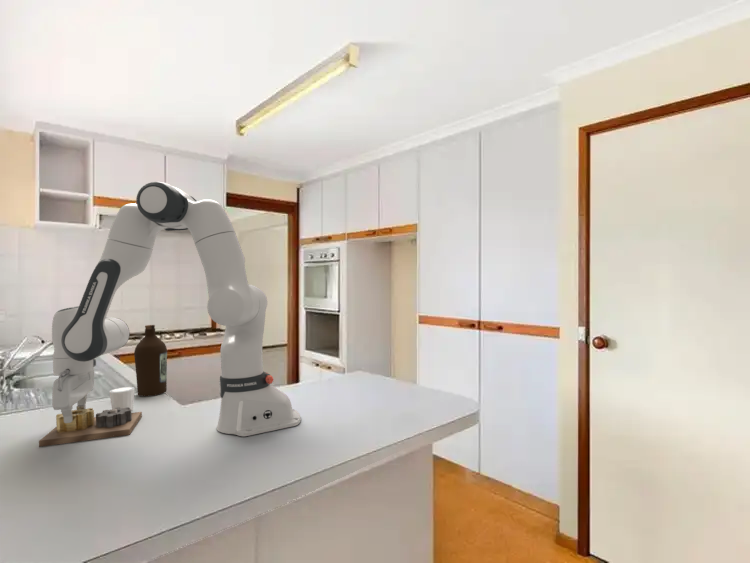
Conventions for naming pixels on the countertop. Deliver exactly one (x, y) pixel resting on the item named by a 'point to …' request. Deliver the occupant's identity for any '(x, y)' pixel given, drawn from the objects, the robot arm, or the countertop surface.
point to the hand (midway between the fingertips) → (75, 416)
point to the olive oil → (151, 364)
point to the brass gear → (76, 420)
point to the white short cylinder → (122, 397)
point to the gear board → (97, 428)
